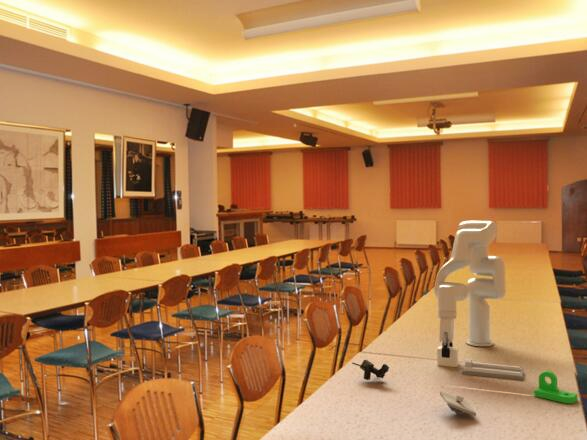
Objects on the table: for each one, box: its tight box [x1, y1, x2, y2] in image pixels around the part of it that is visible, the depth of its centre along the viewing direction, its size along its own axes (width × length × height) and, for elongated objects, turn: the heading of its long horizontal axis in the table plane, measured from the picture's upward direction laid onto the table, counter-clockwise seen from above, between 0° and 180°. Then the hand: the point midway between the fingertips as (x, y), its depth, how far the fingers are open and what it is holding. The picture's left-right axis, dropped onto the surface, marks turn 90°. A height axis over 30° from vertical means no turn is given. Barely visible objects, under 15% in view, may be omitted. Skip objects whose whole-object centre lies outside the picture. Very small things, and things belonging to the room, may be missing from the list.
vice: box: [351, 359, 390, 381], centre depth 201 cm, size 18×9×11 cm
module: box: [436, 345, 459, 368], centre depth 220 cm, size 5×8×7 cm, turn 66°
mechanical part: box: [534, 370, 579, 404], centre depth 181 cm, size 12×6×8 cm, turn 45°
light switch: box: [439, 391, 477, 417], centre depth 170 cm, size 9×10×5 cm
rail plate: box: [461, 357, 524, 381], centre depth 208 cm, size 10×22×4 cm, turn 66°
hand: (447, 354), depth 220 cm, fingers open, 9 cm apart
